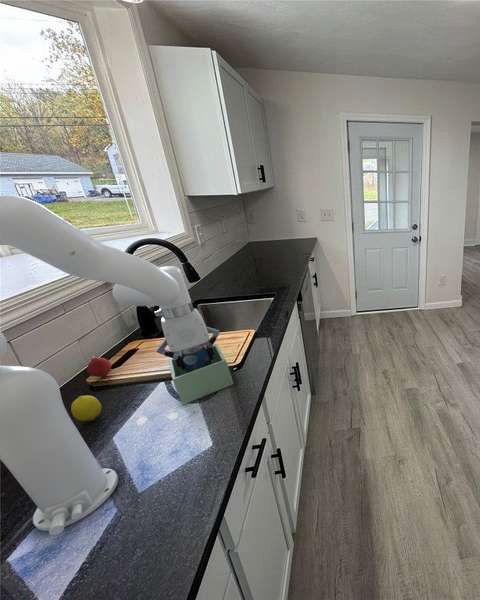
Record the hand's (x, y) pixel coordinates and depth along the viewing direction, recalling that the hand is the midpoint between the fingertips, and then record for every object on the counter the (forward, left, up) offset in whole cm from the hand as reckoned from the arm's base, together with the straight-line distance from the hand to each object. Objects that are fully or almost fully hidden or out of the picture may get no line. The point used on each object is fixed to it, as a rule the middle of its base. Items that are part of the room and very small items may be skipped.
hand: (197, 362), depth 95 cm
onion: (+30, +26, -8) cm, 41 cm away
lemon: (+4, +27, -8) cm, 28 cm away
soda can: (0, 0, -7) cm, 7 cm away
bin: (0, 0, -8) cm, 8 cm away
